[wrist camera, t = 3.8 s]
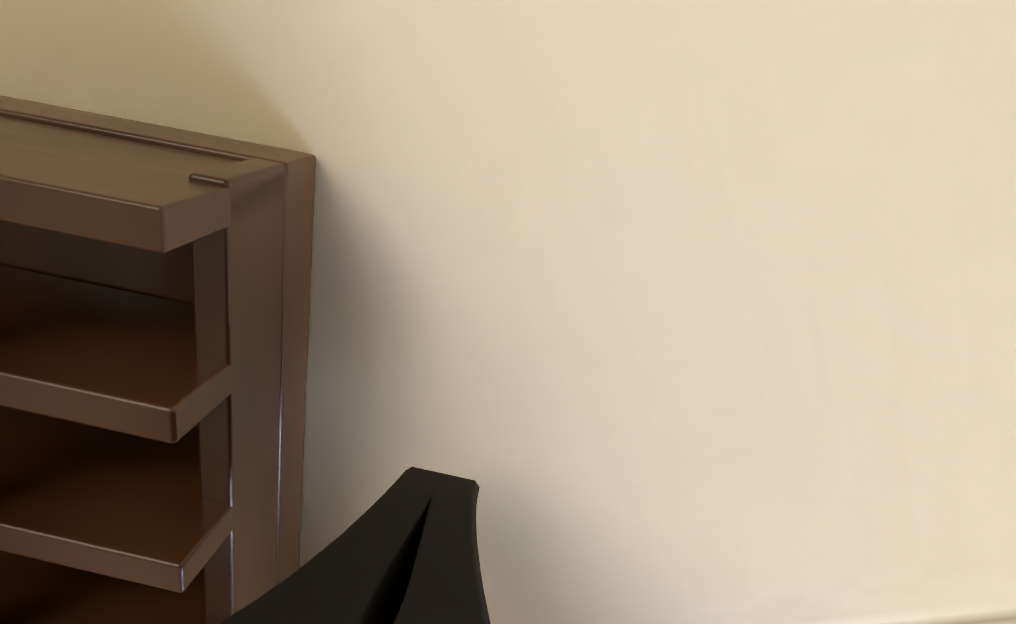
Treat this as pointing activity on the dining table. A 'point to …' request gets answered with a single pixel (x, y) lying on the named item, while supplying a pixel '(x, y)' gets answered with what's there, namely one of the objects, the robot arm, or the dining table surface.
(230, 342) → the rack
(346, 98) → the dining table surface
